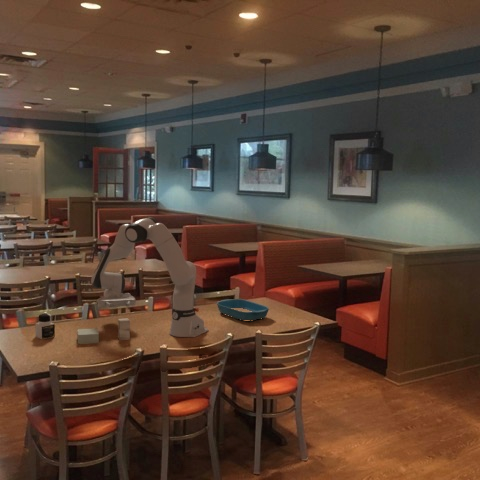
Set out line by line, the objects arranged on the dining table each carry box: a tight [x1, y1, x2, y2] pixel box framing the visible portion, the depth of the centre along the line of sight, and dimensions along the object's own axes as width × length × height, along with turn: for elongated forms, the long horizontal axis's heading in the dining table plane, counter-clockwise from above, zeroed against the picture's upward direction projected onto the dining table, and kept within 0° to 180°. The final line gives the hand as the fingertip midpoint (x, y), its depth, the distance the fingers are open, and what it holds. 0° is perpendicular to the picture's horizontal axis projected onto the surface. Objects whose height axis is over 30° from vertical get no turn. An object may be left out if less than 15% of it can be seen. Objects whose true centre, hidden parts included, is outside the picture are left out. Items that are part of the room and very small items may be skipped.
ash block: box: [117, 317, 131, 341], centre depth 279 cm, size 5×5×10 cm
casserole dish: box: [216, 298, 270, 321], centre depth 333 cm, size 37×22×7 cm, turn 39°
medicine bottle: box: [34, 313, 56, 340], centre depth 276 cm, size 7×7×12 cm
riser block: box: [76, 327, 100, 345], centre depth 274 cm, size 10×10×5 cm
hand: (119, 305), depth 289 cm, fingers open, 8 cm apart
